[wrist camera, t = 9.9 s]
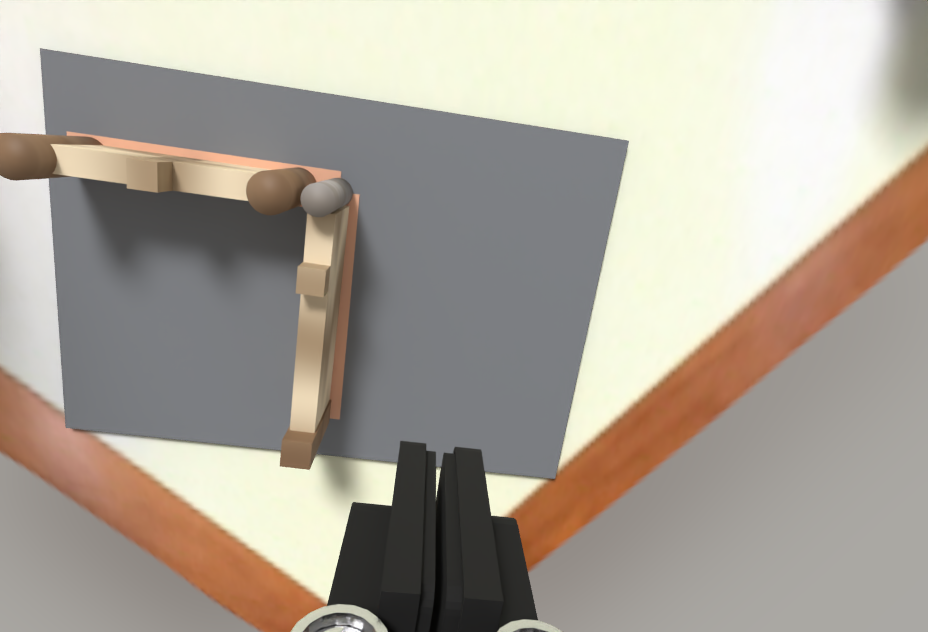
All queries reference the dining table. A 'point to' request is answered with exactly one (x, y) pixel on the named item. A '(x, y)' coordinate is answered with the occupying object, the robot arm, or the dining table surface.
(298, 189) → the fixed fence
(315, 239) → the panel
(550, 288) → the mat
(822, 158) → the dining table surface
